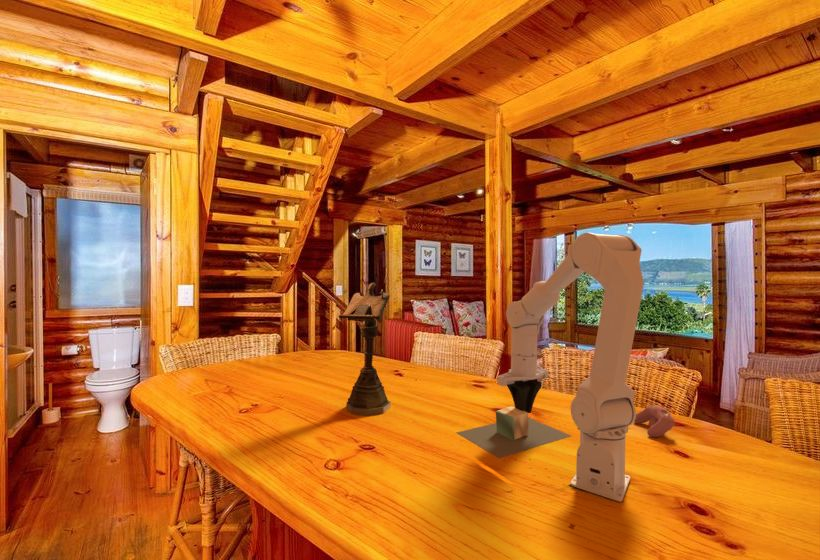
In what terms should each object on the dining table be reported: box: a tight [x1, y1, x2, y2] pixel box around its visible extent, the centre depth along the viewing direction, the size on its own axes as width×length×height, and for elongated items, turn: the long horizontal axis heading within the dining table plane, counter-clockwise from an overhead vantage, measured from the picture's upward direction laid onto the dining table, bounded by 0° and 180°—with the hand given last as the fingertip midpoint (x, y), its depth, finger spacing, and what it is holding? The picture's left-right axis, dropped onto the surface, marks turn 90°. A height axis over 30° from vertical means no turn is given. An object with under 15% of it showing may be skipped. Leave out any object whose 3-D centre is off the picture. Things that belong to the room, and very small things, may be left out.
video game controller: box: [633, 403, 675, 438], centre depth 91 cm, size 10×5×7 cm, turn 169°
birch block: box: [495, 405, 529, 440], centre depth 87 cm, size 5×5×5 cm
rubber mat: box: [455, 417, 572, 459], centre depth 87 cm, size 22×14×1 cm, turn 120°
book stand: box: [336, 282, 391, 417], centre depth 102 cm, size 17×13×35 cm
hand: (523, 412), depth 88 cm, fingers closed
